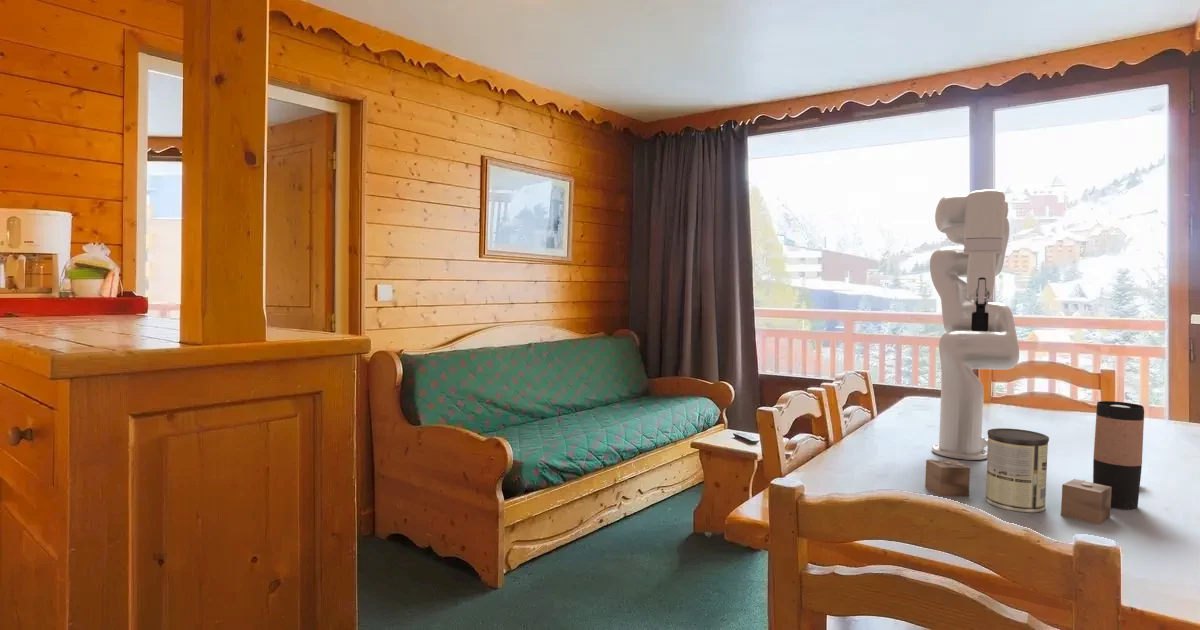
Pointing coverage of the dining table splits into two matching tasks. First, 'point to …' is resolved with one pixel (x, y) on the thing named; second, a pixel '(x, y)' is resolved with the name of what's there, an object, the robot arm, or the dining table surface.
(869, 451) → the dining table surface
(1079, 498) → the one-pip block
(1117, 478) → the travel mug
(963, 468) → the three-pip block
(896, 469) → the dining table surface
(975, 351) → the robot arm
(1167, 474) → the dining table surface
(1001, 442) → the coffee can
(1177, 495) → the dining table surface
